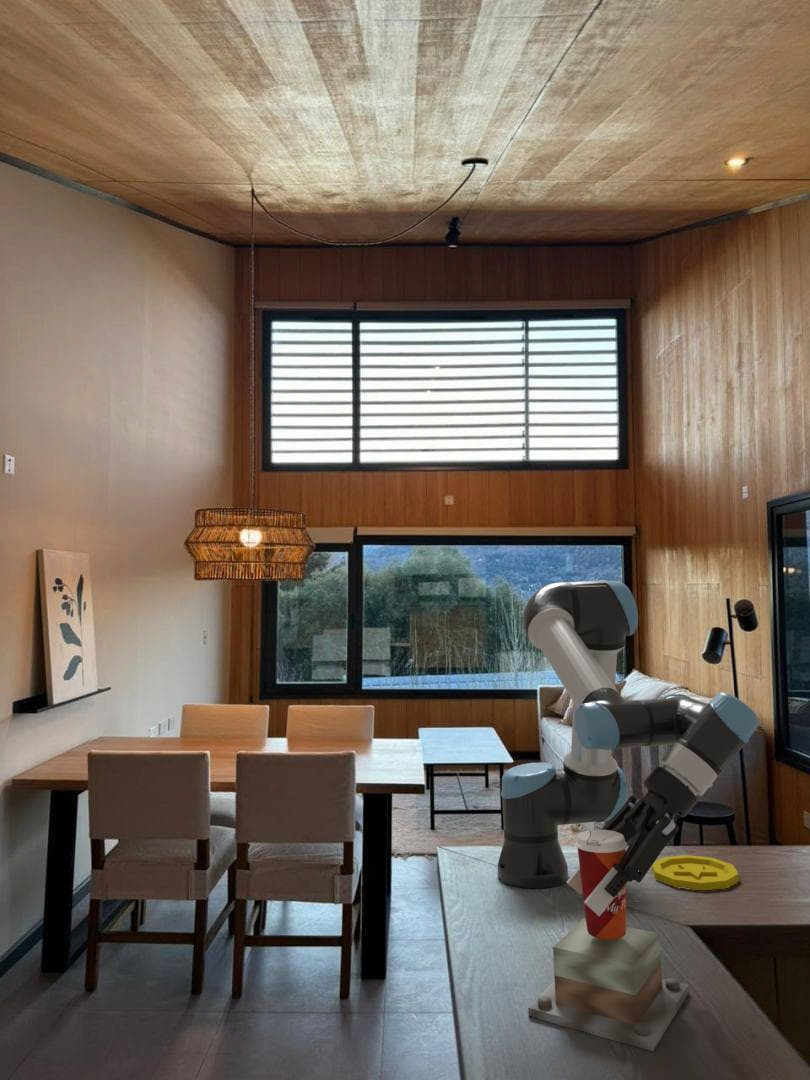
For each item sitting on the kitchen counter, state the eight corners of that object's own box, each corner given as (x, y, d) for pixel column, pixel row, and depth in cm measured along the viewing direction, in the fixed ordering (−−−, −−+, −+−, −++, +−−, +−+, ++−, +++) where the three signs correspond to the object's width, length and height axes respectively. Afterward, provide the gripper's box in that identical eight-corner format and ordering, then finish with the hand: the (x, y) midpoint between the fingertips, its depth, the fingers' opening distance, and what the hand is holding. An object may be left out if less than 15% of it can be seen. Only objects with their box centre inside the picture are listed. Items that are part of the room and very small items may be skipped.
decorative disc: (637, 880, 169) (637, 870, 169) (678, 859, 181) (677, 850, 182) (713, 899, 157) (713, 888, 157) (751, 875, 169) (750, 865, 169)
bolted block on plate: (528, 1016, 116) (525, 950, 116) (576, 966, 130) (572, 908, 131) (652, 1051, 106) (648, 979, 106) (688, 992, 120) (684, 930, 121)
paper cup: (624, 946, 114) (618, 845, 115) (572, 936, 118) (567, 839, 119) (639, 926, 120) (633, 831, 121) (590, 917, 124) (584, 825, 125)
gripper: (730, 815, 112) (626, 944, 109) (667, 782, 132) (578, 890, 129) (692, 779, 111) (586, 907, 109) (634, 752, 132) (544, 859, 129)
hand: (582, 898), depth 119 cm, fingers closed on paper cup, 8 cm apart
